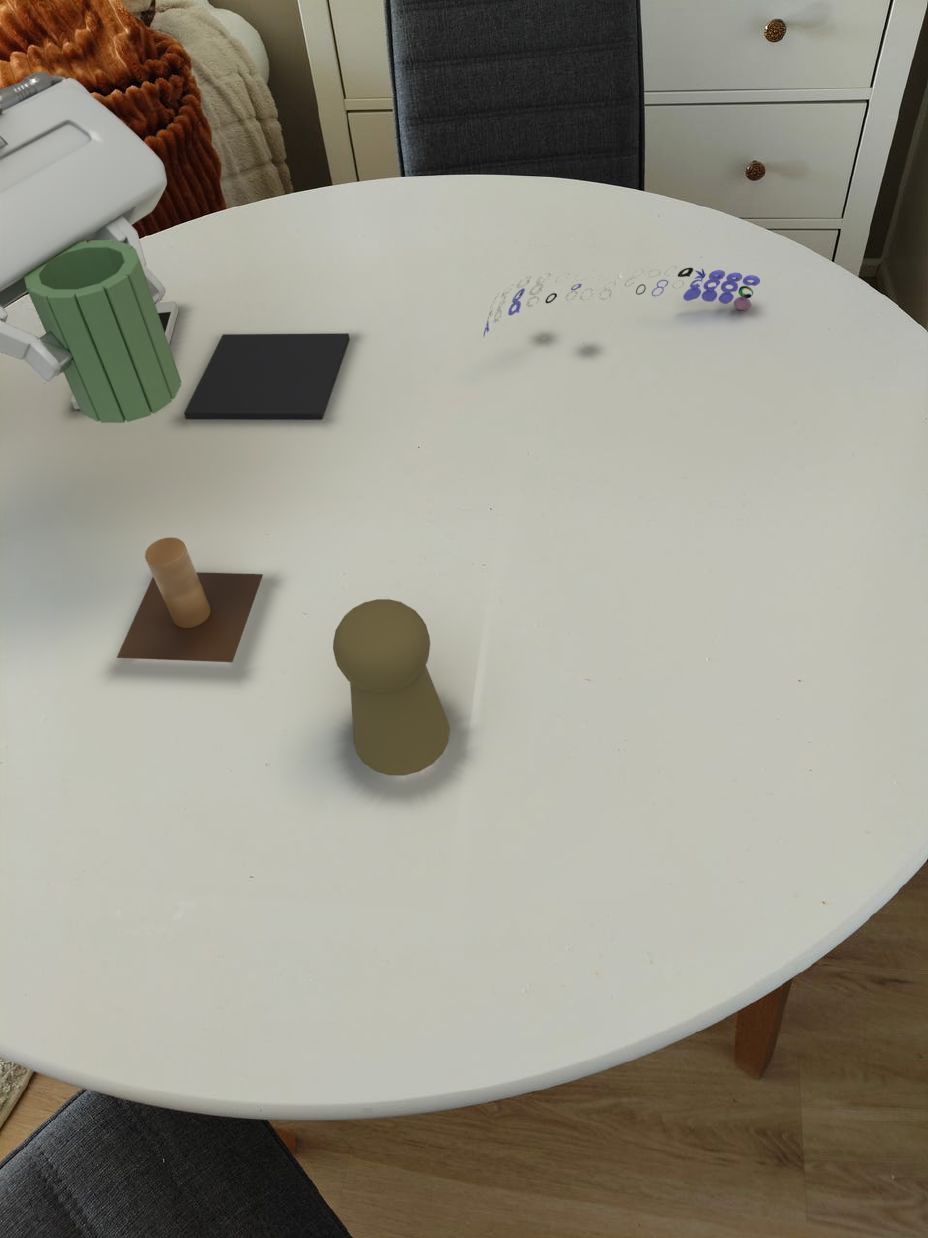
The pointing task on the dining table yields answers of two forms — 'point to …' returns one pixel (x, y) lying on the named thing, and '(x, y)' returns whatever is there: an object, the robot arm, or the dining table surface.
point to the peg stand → (189, 609)
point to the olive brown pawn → (391, 687)
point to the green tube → (106, 330)
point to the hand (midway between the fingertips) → (109, 335)
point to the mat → (269, 376)
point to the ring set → (690, 294)
